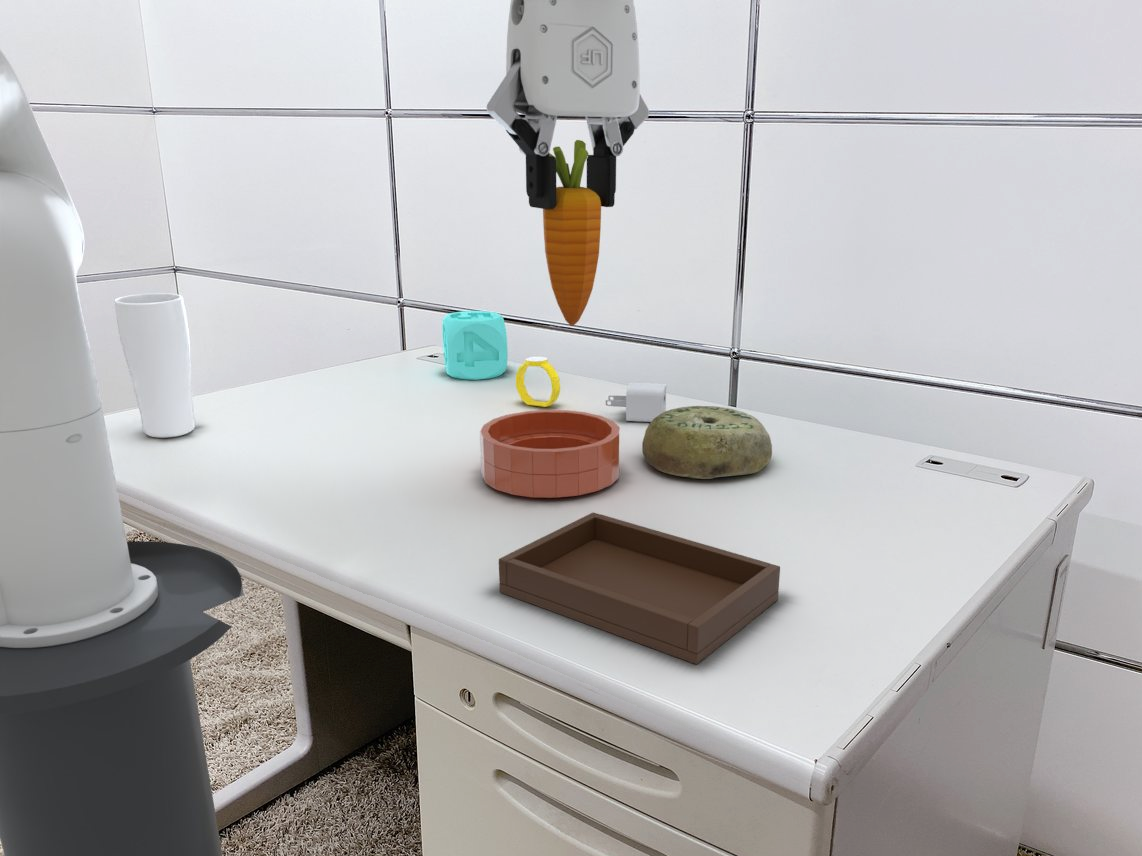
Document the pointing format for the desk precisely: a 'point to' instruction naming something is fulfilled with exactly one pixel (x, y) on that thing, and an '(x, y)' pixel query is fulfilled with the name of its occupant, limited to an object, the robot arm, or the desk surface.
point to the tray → (642, 584)
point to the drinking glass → (158, 360)
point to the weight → (706, 442)
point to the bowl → (550, 453)
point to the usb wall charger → (642, 401)
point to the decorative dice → (474, 345)
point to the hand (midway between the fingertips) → (572, 204)
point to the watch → (551, 373)
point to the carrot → (572, 236)
